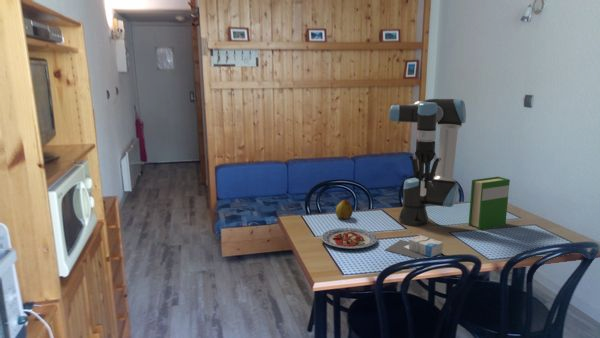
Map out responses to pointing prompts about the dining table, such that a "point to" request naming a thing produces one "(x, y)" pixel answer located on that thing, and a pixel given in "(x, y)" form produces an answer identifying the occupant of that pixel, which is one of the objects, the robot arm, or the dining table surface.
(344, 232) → the ceramic plate
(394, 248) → the mat
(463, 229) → the dining table surface
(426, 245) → the ink box
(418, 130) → the robot arm
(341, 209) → the fruit
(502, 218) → the hardback book
